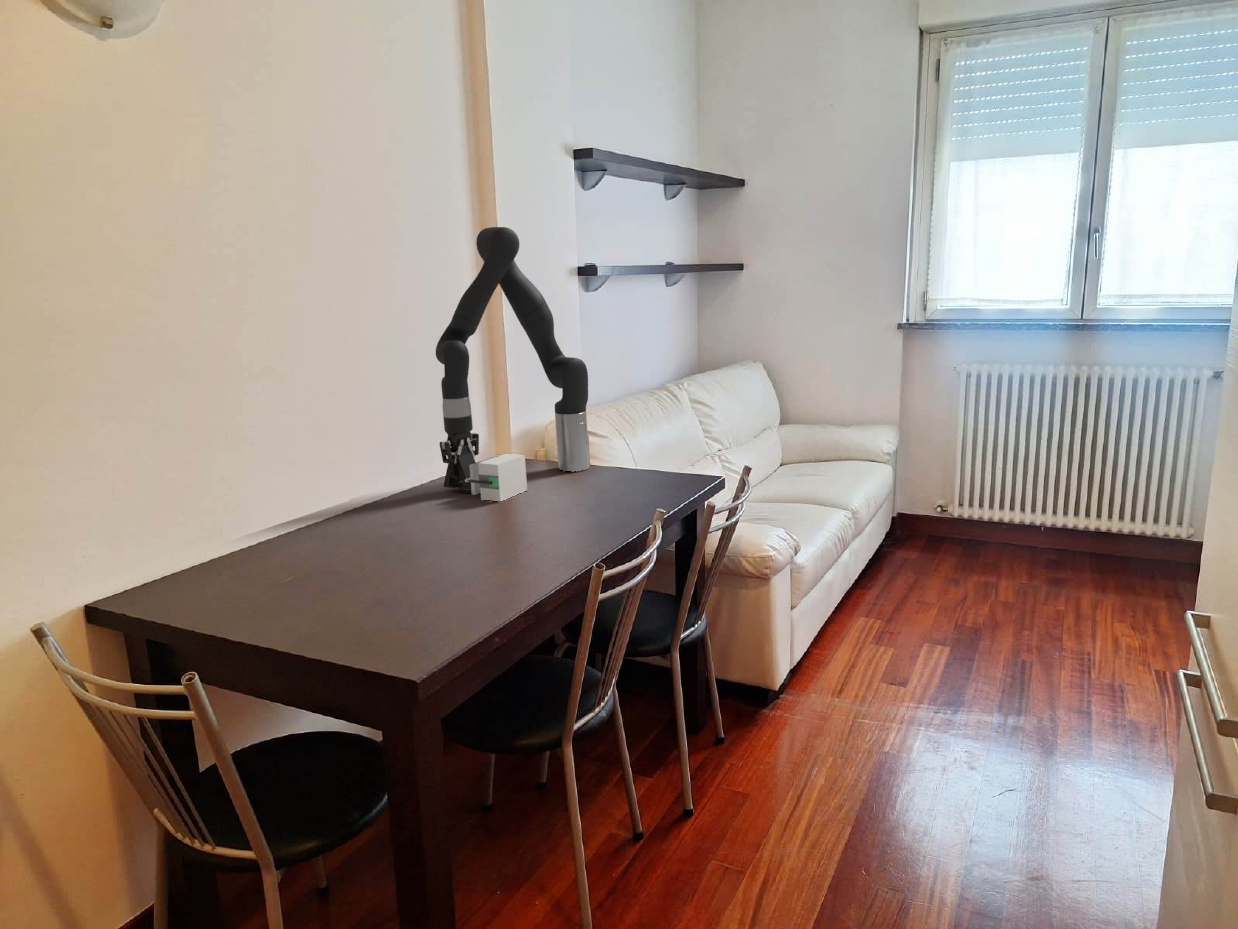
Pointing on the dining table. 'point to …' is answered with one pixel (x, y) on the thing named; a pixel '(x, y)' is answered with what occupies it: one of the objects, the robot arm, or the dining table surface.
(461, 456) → the phone stand
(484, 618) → the dining table surface
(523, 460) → the box
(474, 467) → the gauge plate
